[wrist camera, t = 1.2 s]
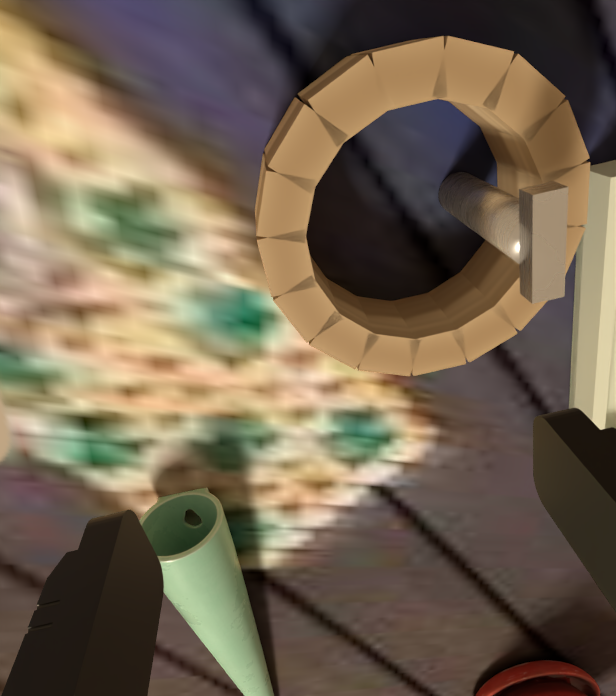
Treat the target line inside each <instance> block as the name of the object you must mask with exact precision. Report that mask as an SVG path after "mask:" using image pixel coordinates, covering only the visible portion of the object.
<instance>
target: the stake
mask: <svg viewBox="0 0 616 696" xmlns="http://www.w3.org/2000/svg"><path fill="white" fill-rule="evenodd" d="M438 198H439V202H440V204H441V206H442V207H443V208H444V209H445V210H446V211H448V212H449V213H450V214H452V215H453V216H454V217H456V218H457V219H458V220H460V221H461V222H462V223H464V224H465V225H466V226H468V227H469V228H471V229H472V230H473V231H475V232H476V233H477V234H479V235H480V236H481V237H483V238H484V239H485V240H487V241H488V242H489V243H491V244H492V245H494V246H495V247H496V248H498V249H499V250H500V251H502V252H503V253H504V254H506V255H507V256H508V257H510V258H511V259H513V260H514V261H515V262H517V263H518V264H520V294H521V295H522V296H523V297H525V298H526V299H527V300H528V301H529V302H530V303H532V304H534V303H538V302H543V301H547V300H551V299H556V298H560V297H564V293H565V266H566V239H567V212H568V187H567V186H565V185H562V184H560V183H557V182H554V181H550V182H546V183H542V184H538V185H533V186H529V187H525V188H520V189H519V198H517V197H515V196H513V195H511V194H509V193H507V192H505V191H503V190H501V189H499V188H497V187H495V186H493V185H491V184H489V183H487V182H485V181H483V180H481V179H479V178H477V177H475V176H473V175H471V174H469V173H467V172H456V173H453V174H451V175H449V176H448V177H447V178H446V179H445V180H444V181H443V182H442V184H441V186H440V189H439V193H438Z"/></svg>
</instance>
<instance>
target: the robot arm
mask: <svg viewBox="0 0 616 696" xmlns="http://www.w3.org/2000/svg"><path fill="white" fill-rule="evenodd" d="M533 476H534V482H535V486H536V490H537V493H538V495H539V497H540V500H541V502H542V504H543V505H544V507H545V509H546V510H547V511H548V513H549V514H550V516H551V517H552V519H553V520H554V522H555V523H556V525H557V526H558V528H559V529H560V531H561V532H562V534H563V535H564V537H565V538H566V540H567V541H568V542H569V544H570V545H571V547H572V548H573V550H574V551H575V553H576V554H577V556H578V557H579V559H580V560H581V562H582V563H583V565H584V566H585V568H586V569H587V571H588V572H589V573H590V575H591V576H592V578H593V579H594V581H595V582H596V584H597V585H598V587H599V588H600V590H601V591H602V593H603V594H604V596H605V597H606V599H607V600H608V602H609V603H610V604H611V606H612V607H613V609H614V610H615V612H616V428H614V427H611V428H606V429H602V430H600V429H599V428H598V427H597V426H596V425H595V424H594V423H593V422H592V421H591V420H590V419H589V418H588V417H587V416H586V415H585V414H584V413H583V412H582V411H581V410H580V409H578V408H570V409H566V410H561V411H557V412H553V413H549V414H544V415H540V416H537V417H536V418H535V419H534V423H533ZM163 591H164V580H163V572H162V567H161V564H160V561H159V559H158V557H157V555H156V553H155V551H154V549H153V547H152V545H151V543H150V541H149V539H148V537H147V535H146V533H145V531H144V530H143V528H142V526H141V524H140V522H139V520H138V518H137V516H136V514H135V513H134V512H133V511H131V510H126V511H122V512H118V513H114V514H109V515H105V516H101V517H96V518H93V519H91V520H90V521H89V522H88V523H87V526H86V528H85V531H84V534H83V537H82V540H81V543H80V545H79V548H78V550H75V551H71V552H67V553H66V554H65V556H64V557H63V558H62V559H61V561H60V562H59V563H58V565H57V566H56V567H55V569H54V570H53V571H52V573H51V574H50V575H49V576H48V578H47V580H46V583H45V585H44V588H43V590H42V593H41V595H40V598H39V601H38V603H37V610H36V611H34V613H33V616H32V619H31V621H30V624H29V626H28V634H25V636H24V639H23V642H22V644H21V647H20V649H19V652H18V654H17V657H16V660H15V662H14V665H13V667H12V670H11V672H10V675H9V678H8V680H7V683H6V685H5V688H4V690H3V693H2V696H147V694H148V687H149V681H150V675H151V668H152V662H153V656H154V649H155V643H156V637H157V630H158V624H159V618H160V611H161V605H162V599H163Z"/></svg>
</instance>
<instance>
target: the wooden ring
mask: <svg viewBox="0 0 616 696" xmlns="http://www.w3.org/2000/svg"><path fill="white" fill-rule="evenodd" d="M298 95H299V97H300V99H301V100H302V102H303V103H302V102H301V101H300V100H298V99H297V98H295V97H294V99H293V101H292V103H291V104H290V106H289V108H288V109H287V111H286V113H285V115H284V116H283V118H282V120H281V122H280V123H279V125H278V127H277V128H276V130H275V132H274V134H273V135H272V137H271V139H270V140H269V142H268V144H267V146H266V147H265V149H264V151H265V154H264V153H263V157H262V164H261V171H260V178H259V185H258V192H257V199H256V206H255V218H256V235H257V243H258V247H259V251H260V254H261V258H262V262H263V266H264V270H265V274H266V277H267V281H268V285H269V289H270V293H271V297H273V301H274V302H275V303H276V305H277V306H278V307H279V308H280V310H281V311H282V312H283V313H284V315H285V316H286V317H287V318H288V320H289V321H290V322H291V323H292V325H293V326H294V327H295V328H296V330H297V331H298V332H299V333H300V335H301V336H302V337H303V339H304V340H305V341H306V342H309V345H311V346H312V347H314V348H316V349H318V350H320V351H322V352H324V353H325V354H327V355H329V356H331V357H333V358H335V359H337V360H339V361H340V362H342V363H344V364H346V365H348V366H350V367H352V368H353V369H356V367H357V368H358V370H360V371H369V372H377V373H386V374H395V375H404V376H410V374H411V372H412V374H413V376H416V375H420V374H424V373H429V372H433V371H437V370H442V369H446V368H450V367H455V366H459V365H463V364H466V361H465V357H466V359H467V360H468V362H471V361H473V360H474V359H476V358H478V357H479V356H481V355H483V354H484V353H486V352H488V351H489V350H491V349H493V348H494V347H496V346H498V345H499V344H501V343H503V342H504V341H506V340H508V339H509V338H511V337H513V336H514V335H516V334H517V332H516V330H515V328H517V329H518V330H520V331H521V330H522V329H523V328H524V327H525V325H526V324H527V323H528V322H529V321H530V320H531V319H532V318H533V316H534V315H535V314H536V313H537V312H538V311H539V310H540V308H541V307H542V306H543V305H544V304H545V303H546V302H547V301H548V300H547V301H543V302H538V303H534V304H532V303H530V302H529V301H528V300H527V299H526V298H525V297H523V296H522V295H521V294H520V264H518V263H517V262H515V261H514V260H513V259H511V258H510V257H508V256H507V255H506V254H504V253H503V252H502V251H500V250H499V249H498V248H496V247H495V246H494V245H492V244H491V243H489V242H488V241H487V240H485V242H484V243H483V244H482V245H481V247H480V248H479V249H478V250H477V252H476V253H475V254H474V255H473V257H472V258H471V259H470V260H469V262H468V263H467V264H466V265H465V267H464V268H463V269H462V270H461V272H460V273H458V274H456V275H455V276H453V277H452V278H450V279H449V280H447V281H446V282H444V283H442V284H441V285H439V286H438V287H436V288H435V289H433V290H431V291H430V292H428V293H425V294H421V295H416V296H412V297H408V298H403V299H399V300H395V301H388V300H380V299H373V298H366V297H359V296H356V295H354V294H352V293H351V292H349V291H347V290H346V289H344V288H342V287H340V286H339V285H337V284H335V283H334V282H332V281H330V280H329V279H327V278H326V277H325V276H324V274H323V273H322V271H321V270H320V269H319V267H318V266H317V264H316V263H315V262H314V260H313V259H312V257H311V256H310V254H309V249H308V244H307V240H306V232H307V227H308V222H309V217H310V212H311V206H312V201H313V196H314V191H315V187H316V185H317V184H318V182H319V181H320V179H321V177H322V176H323V174H324V173H325V171H326V170H327V168H328V166H329V165H330V163H331V162H332V160H333V159H334V157H335V155H336V154H337V152H338V151H339V149H340V148H341V146H342V144H343V143H344V142H345V141H347V140H348V139H349V138H351V137H352V136H353V135H355V134H356V133H358V132H359V131H360V130H362V129H363V128H364V127H366V126H367V125H369V124H370V123H371V122H373V121H374V120H375V119H377V118H378V117H380V116H381V115H382V114H384V113H385V112H386V111H388V110H392V109H396V108H400V107H404V106H409V105H413V104H417V103H421V102H426V101H430V100H434V99H441V100H445V101H449V102H450V103H451V104H453V105H454V106H455V107H456V108H458V109H459V110H460V111H461V112H463V113H464V114H465V115H466V116H468V117H469V118H470V119H471V120H472V121H474V122H475V123H476V124H477V125H479V126H480V128H481V130H482V132H483V134H484V136H485V138H486V141H487V143H488V145H489V147H490V149H491V151H492V153H493V155H494V158H495V160H496V162H497V182H498V188H499V189H501V190H503V191H505V192H507V193H509V194H511V195H513V196H515V197H517V198H519V189H520V188H525V187H529V186H533V185H538V184H542V183H546V182H550V181H554V182H557V183H560V184H562V185H565V186H567V187H568V212H567V239H566V266H565V275H566V273H567V270H568V268H569V266H570V263H571V261H572V259H573V257H574V254H575V252H576V250H577V247H578V245H579V243H580V240H581V238H582V236H583V233H584V231H585V229H586V228H585V227H583V226H581V225H584V224H587V213H588V196H589V178H590V162H587V161H586V160H588V159H589V158H590V157H589V155H588V152H587V149H586V147H585V144H584V141H583V139H582V136H581V133H580V131H579V128H578V125H577V123H576V120H575V117H574V115H573V112H572V109H571V107H570V104H569V101H568V100H563V99H564V98H565V97H566V96H565V95H564V94H562V93H561V92H560V91H559V90H558V89H557V88H556V87H555V86H554V85H552V84H551V83H550V82H549V81H548V80H547V79H546V78H545V77H544V76H543V75H541V74H540V73H539V72H538V71H537V70H536V69H535V68H534V67H533V66H531V65H530V64H529V63H528V62H527V61H526V60H525V59H524V58H523V57H521V56H520V55H519V54H514V51H510V50H506V49H501V48H497V47H493V46H489V45H485V44H481V43H476V42H472V41H468V40H464V39H460V38H456V37H451V36H438V37H431V38H424V39H416V40H409V41H405V42H401V43H396V44H392V45H388V46H384V47H379V48H375V49H371V50H367V51H362V52H358V53H354V54H351V56H346V57H345V58H344V59H342V60H341V61H340V62H338V63H337V64H336V65H335V66H333V67H332V68H331V69H329V70H328V71H327V72H325V73H324V74H323V75H321V76H320V77H319V78H318V79H316V80H315V81H314V82H312V83H311V84H310V85H308V86H307V87H306V88H305V89H303V90H302V91H301V92H299V93H298ZM514 327H515V328H514Z"/></svg>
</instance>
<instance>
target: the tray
mask: <svg viewBox="0 0 616 696" xmlns="http://www.w3.org/2000/svg"><path fill="white" fill-rule="evenodd" d="M581 226H583V227H585V228H586V229H585V231H584V233H583V236H582V238H581V240H580V243H579V245H578V247H577V250H576V270H575V291H574V312H573V333H572V354H571V375H570V397H569V409H570V408H578V409H580V410H581V411H582V412H583V413H584V414H585V415H586V416H587V417H588V418H589V419H590V420H591V421H592V422H593V423H594V424H595V425H596V426H597V427H598V428H599V429H600V430H602V429H606V428H611V427H614V428H616V160H613V161H609V162H605V163H600V164H596V165H592V166H590V178H589V196H588V213H587V224H584V225H581Z"/></svg>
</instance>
